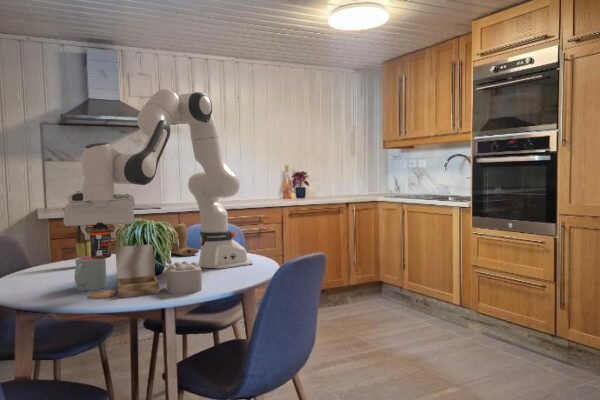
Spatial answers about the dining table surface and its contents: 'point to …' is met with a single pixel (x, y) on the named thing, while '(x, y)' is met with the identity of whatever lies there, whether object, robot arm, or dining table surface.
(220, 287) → the dining table surface
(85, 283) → the mug
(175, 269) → the lumpy-topped squat cylinder
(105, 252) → the supplement bottle
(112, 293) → the saucer
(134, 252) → the cold frame
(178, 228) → the brown boot
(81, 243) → the sauce bottle
